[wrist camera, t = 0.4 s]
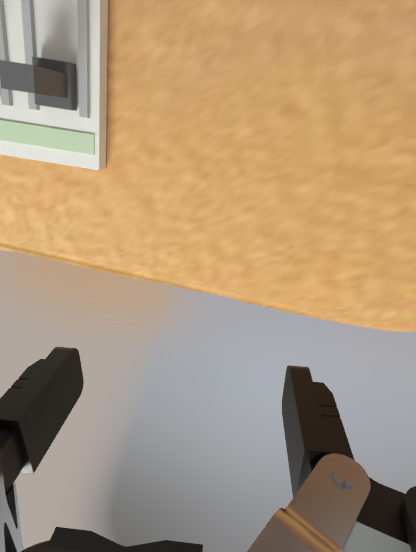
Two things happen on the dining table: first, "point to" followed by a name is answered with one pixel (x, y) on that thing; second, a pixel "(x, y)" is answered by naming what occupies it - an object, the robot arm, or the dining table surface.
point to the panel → (61, 50)
